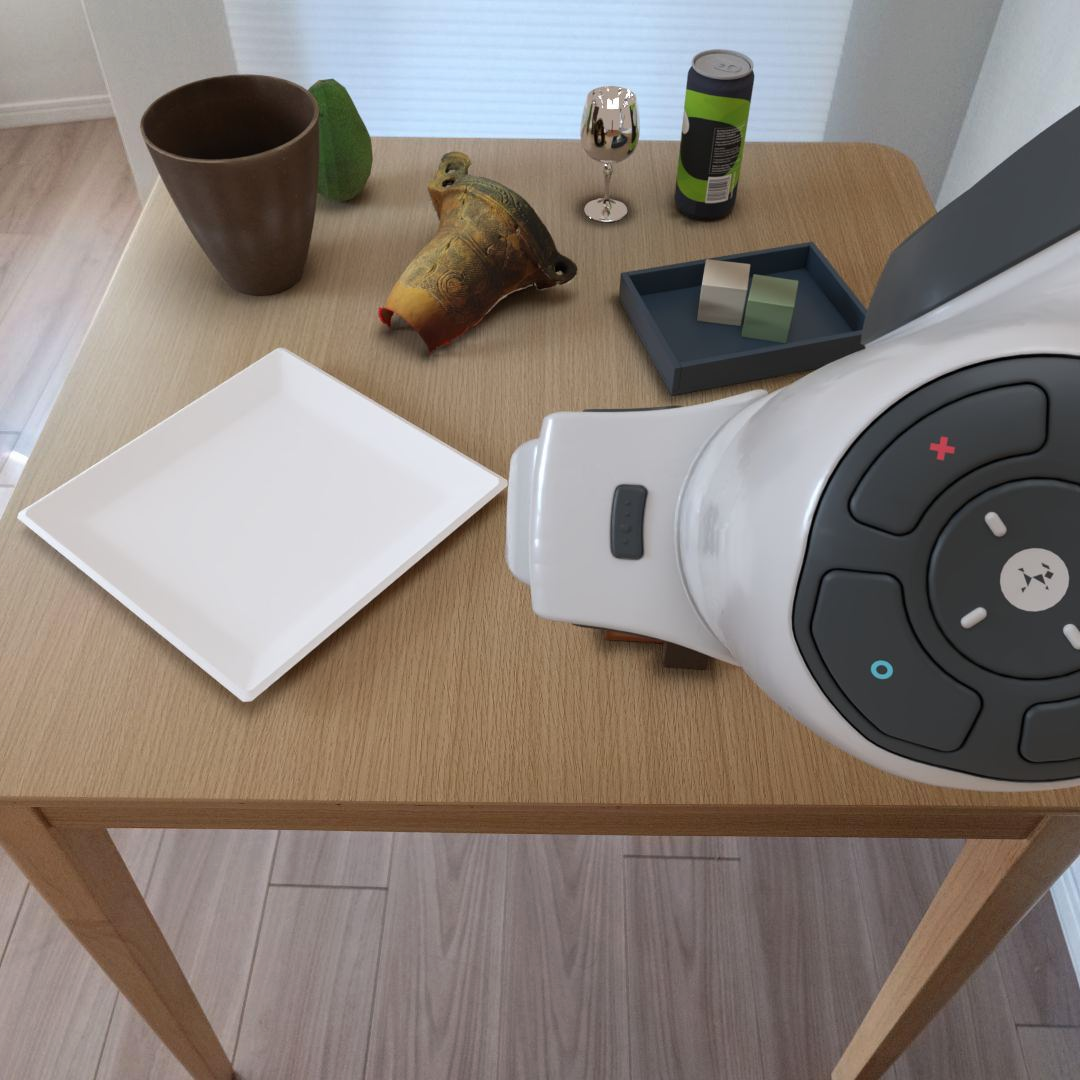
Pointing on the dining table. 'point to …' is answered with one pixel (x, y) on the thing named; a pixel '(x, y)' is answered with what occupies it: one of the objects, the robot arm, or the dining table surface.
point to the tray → (719, 349)
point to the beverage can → (713, 133)
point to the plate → (262, 516)
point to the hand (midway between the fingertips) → (754, 516)
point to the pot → (473, 256)
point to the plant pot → (241, 173)
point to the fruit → (340, 143)
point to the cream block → (723, 292)
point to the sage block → (770, 308)
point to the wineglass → (609, 141)
